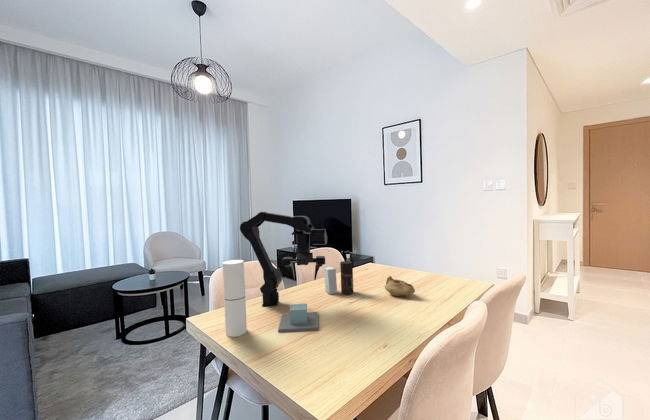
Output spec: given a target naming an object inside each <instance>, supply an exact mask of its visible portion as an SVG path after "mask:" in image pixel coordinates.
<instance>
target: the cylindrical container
mask: <svg viewBox="0 0 650 420" xmlns="http://www.w3.org/2000/svg"><path fill="white" fill-rule="evenodd" d="M221 265H222V279H223V280H222V281H223V282H222V283H223V285H222V286H223V303H224V322H225V323H224V324H225V325H224V328H225V336H227V337H231V338H233V337H234V338H235V337H240V336H243V335H244V334H246V333H247V331H248V329H247V328H248V326H247V325H248V324H247V306H246V305H247V304H246V303H247V302H246V281H245V280H246V279H245V261H244V260H243V259H230V260H225V261H223V262H221Z"/></svg>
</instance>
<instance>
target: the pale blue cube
mask: <svg viewBox="0 0 650 420" xmlns="http://www.w3.org/2000/svg"><path fill="white" fill-rule="evenodd" d="M307 312H308V303H292V304H290V307H289V313H290V324H300V323H307V317H308V316H307Z"/></svg>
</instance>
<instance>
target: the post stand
mask: <svg viewBox="0 0 650 420" xmlns="http://www.w3.org/2000/svg"><path fill="white" fill-rule="evenodd" d="M318 315H319V314H318V311H310V312H309V311H307V316H308V317H307V323H300V324H290V312H289V313H282V314H281V318H280V321H279V325H278V328H277V331H278V333H289V332H306V331H307V332H308V331H319V317H318Z"/></svg>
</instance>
